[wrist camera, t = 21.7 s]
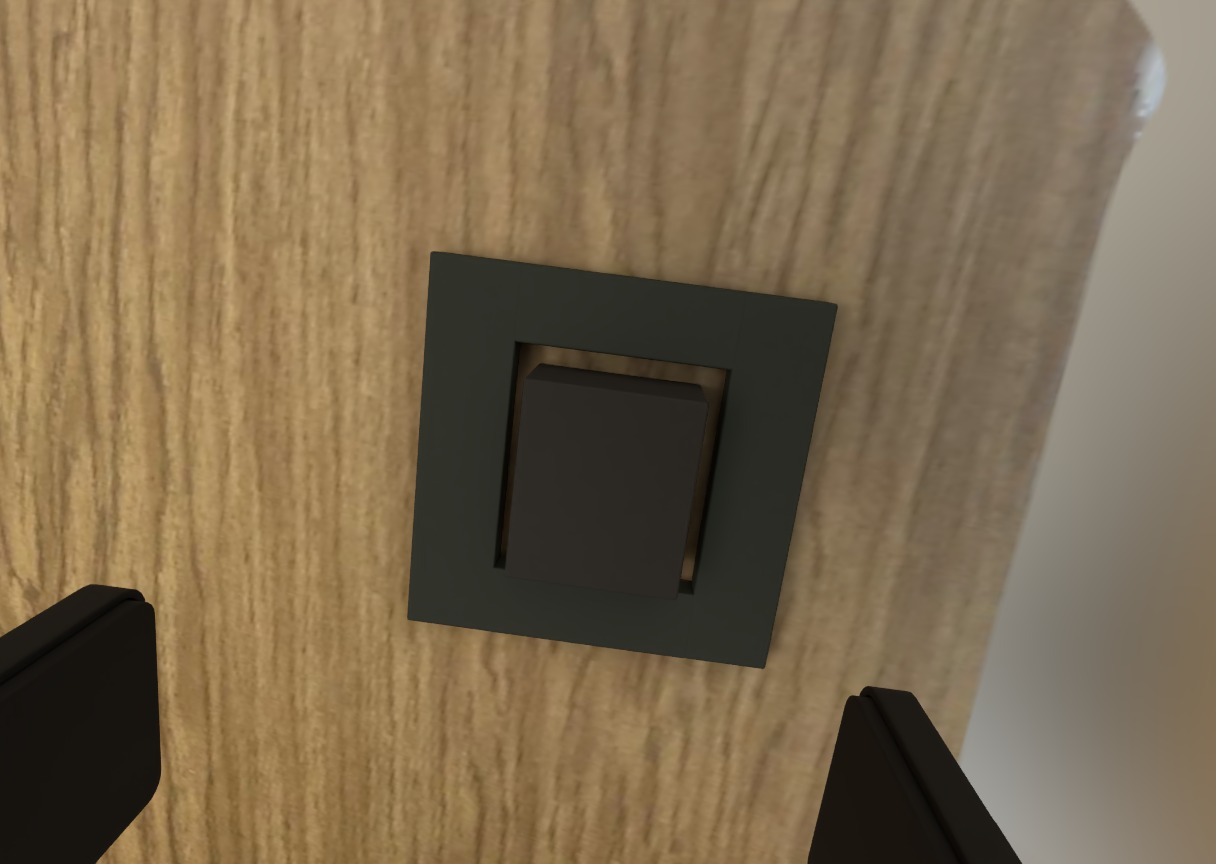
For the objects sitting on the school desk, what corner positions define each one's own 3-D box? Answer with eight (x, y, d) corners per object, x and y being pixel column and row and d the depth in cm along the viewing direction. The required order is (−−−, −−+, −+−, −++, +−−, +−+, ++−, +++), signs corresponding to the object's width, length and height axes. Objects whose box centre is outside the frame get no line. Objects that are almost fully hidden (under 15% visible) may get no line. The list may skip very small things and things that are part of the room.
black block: (539, 363, 26) (523, 378, 22) (700, 384, 26) (709, 402, 22) (520, 539, 27) (503, 577, 24) (672, 560, 27) (676, 601, 24)
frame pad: (439, 251, 25) (430, 251, 24) (829, 302, 25) (839, 304, 24) (416, 605, 28) (406, 620, 27) (760, 653, 28) (765, 670, 27)
